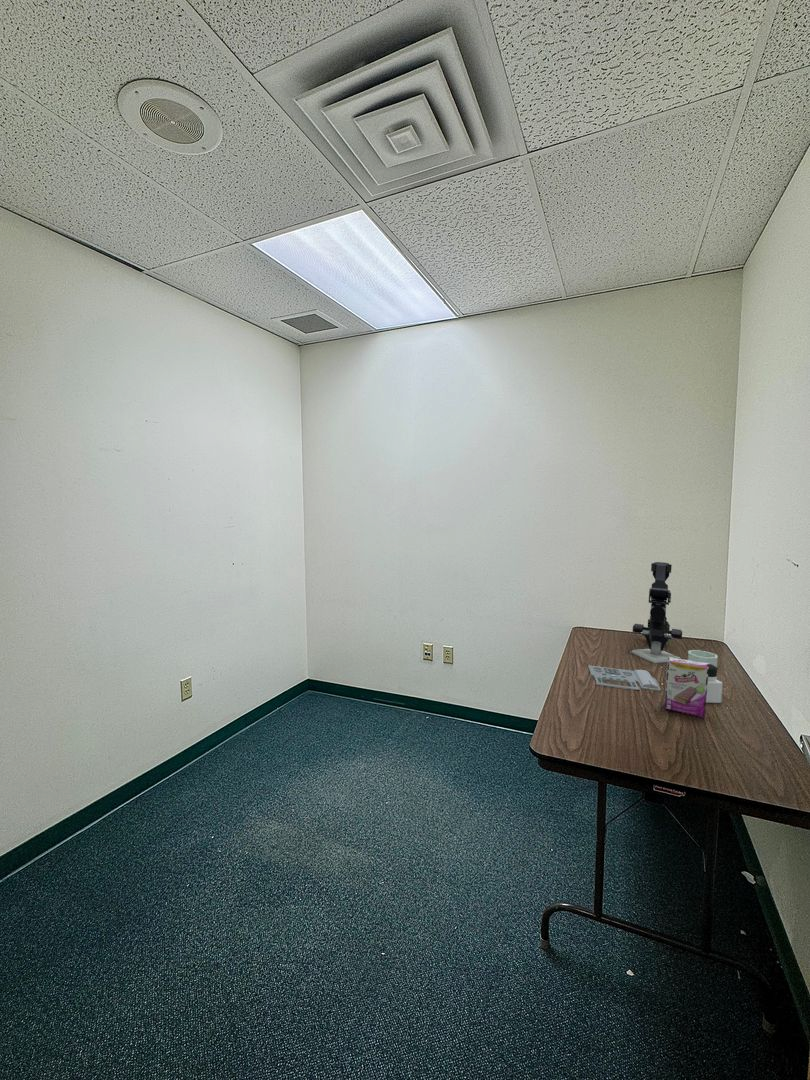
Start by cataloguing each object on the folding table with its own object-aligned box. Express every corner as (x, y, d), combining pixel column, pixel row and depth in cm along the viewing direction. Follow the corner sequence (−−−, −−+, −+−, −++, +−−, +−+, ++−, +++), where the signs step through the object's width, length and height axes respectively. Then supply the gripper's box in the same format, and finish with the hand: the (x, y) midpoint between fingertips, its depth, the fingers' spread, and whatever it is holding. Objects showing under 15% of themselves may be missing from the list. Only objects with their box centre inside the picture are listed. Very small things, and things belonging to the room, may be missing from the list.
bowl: (682, 662, 189) (682, 650, 189) (701, 661, 192) (702, 649, 191) (702, 671, 180) (703, 658, 179) (722, 669, 182) (723, 657, 181)
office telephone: (652, 669, 176) (665, 688, 156) (651, 676, 176) (664, 696, 157) (588, 661, 182) (593, 679, 163) (588, 668, 183) (593, 686, 164)
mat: (628, 652, 202) (628, 651, 202) (657, 650, 205) (657, 649, 205) (653, 664, 187) (653, 662, 187) (684, 661, 190) (684, 660, 190)
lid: (632, 651, 201) (632, 638, 200) (656, 650, 204) (657, 637, 203) (654, 661, 188) (654, 647, 188) (680, 660, 191) (681, 646, 190)
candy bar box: (664, 710, 144) (667, 660, 143) (664, 704, 148) (667, 656, 147) (705, 719, 139) (709, 667, 137) (704, 712, 143) (708, 662, 142)
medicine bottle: (721, 703, 150) (724, 668, 149) (700, 702, 150) (702, 668, 149) (707, 694, 157) (710, 661, 156) (687, 693, 157) (689, 660, 156)
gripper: (632, 615, 193) (630, 651, 194) (682, 622, 183) (680, 659, 184) (634, 610, 202) (632, 644, 203) (683, 616, 192) (681, 652, 193)
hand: (655, 650), depth 196 cm, fingers closed on lid, 4 cm apart
